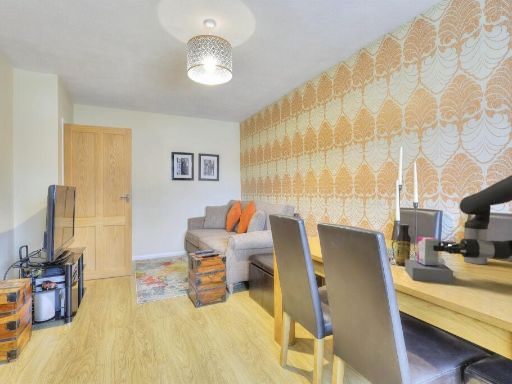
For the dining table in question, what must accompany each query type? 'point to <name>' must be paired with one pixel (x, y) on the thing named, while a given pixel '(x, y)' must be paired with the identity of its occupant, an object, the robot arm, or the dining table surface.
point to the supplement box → (427, 251)
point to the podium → (429, 272)
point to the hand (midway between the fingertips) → (430, 246)
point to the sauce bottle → (403, 245)
